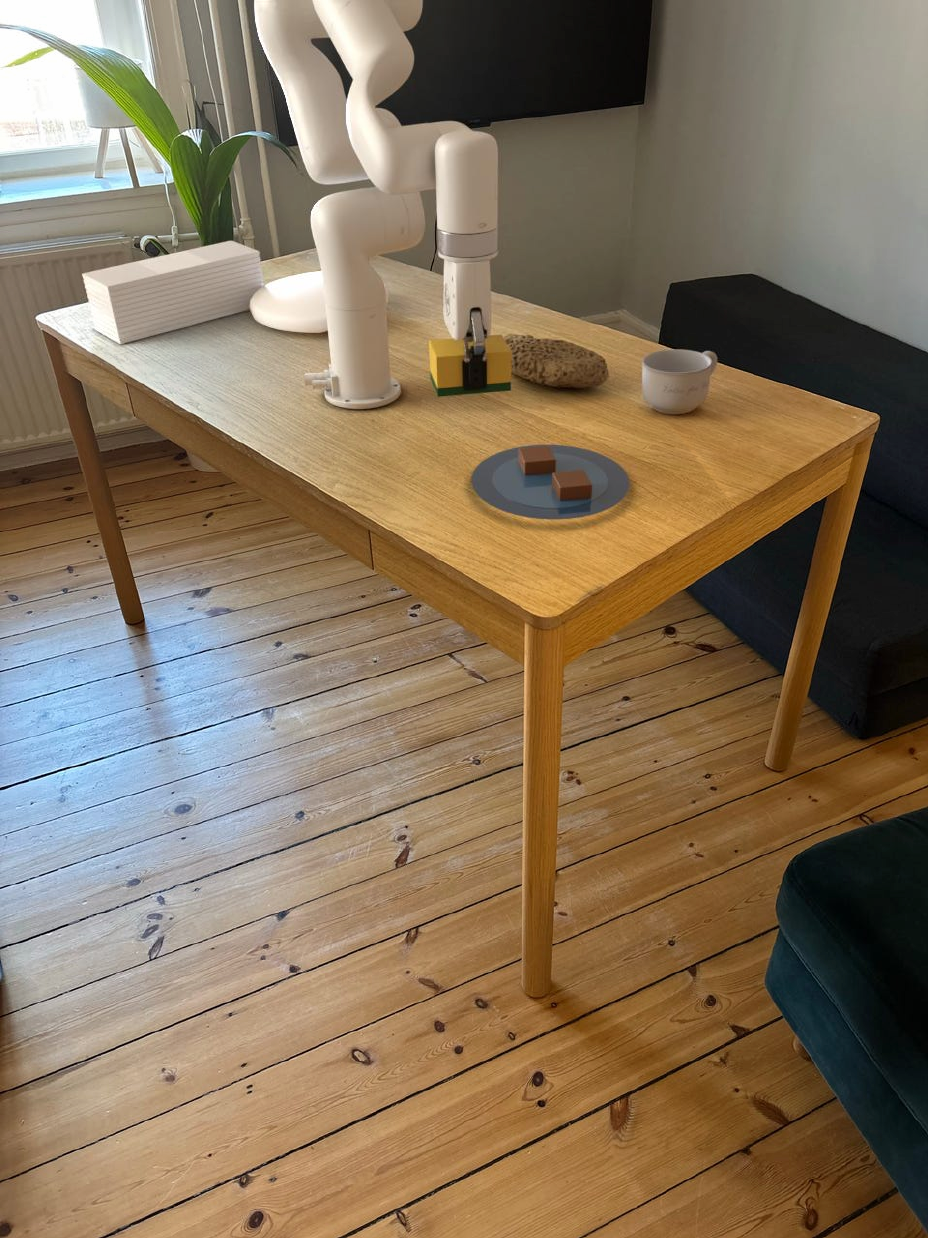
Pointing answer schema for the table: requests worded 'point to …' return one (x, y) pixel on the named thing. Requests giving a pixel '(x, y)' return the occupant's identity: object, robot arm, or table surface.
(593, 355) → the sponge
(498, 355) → the scrub sponge
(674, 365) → the teacup
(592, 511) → the side plate
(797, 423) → the table surface
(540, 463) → the block
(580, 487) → the block
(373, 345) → the robot arm
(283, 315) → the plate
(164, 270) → the white long rectangular block
